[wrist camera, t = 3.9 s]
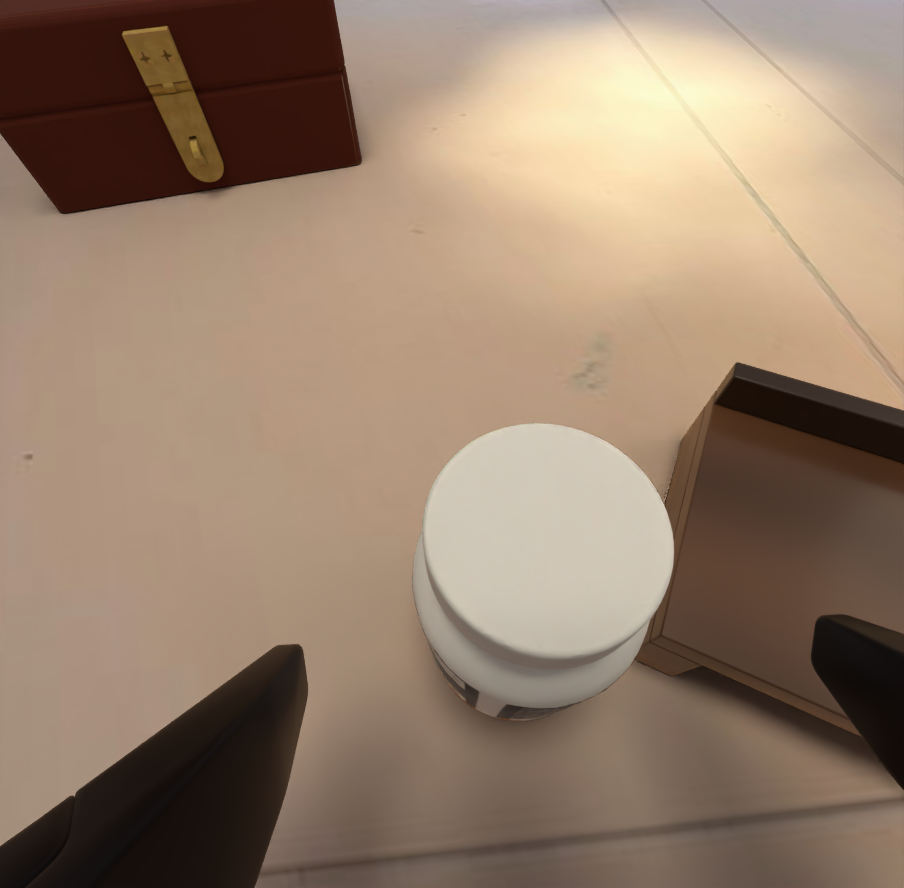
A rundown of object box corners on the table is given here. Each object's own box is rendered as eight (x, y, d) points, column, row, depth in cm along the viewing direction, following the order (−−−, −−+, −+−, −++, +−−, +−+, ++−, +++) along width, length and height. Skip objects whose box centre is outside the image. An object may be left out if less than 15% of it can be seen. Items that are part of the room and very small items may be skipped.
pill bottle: (592, 570, 18) (699, 421, 10) (583, 742, 15) (724, 735, 7) (448, 542, 19) (435, 381, 11) (412, 701, 16) (355, 650, 8)
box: (54, 226, 32) (-96, 36, 23) (87, 114, 40) (-13, -54, 32) (366, 174, 34) (333, -15, 26) (334, 79, 43) (302, -85, 34)
